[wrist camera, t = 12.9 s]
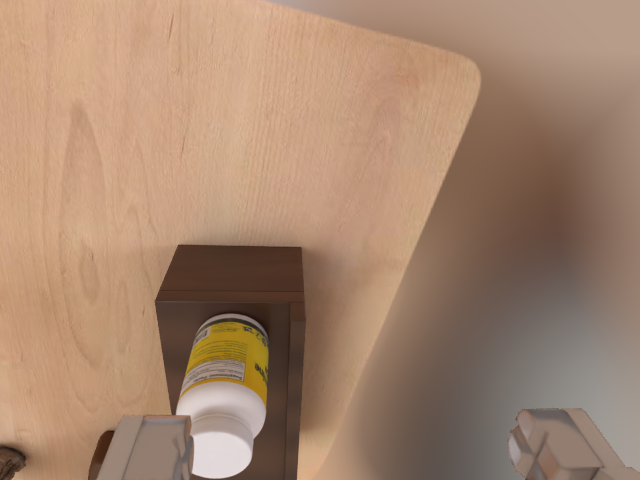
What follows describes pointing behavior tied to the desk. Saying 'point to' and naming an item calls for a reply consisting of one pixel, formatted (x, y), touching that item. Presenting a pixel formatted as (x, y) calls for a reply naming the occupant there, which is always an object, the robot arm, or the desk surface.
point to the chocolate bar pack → (100, 455)
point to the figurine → (10, 462)
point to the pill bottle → (225, 393)
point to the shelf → (262, 306)
